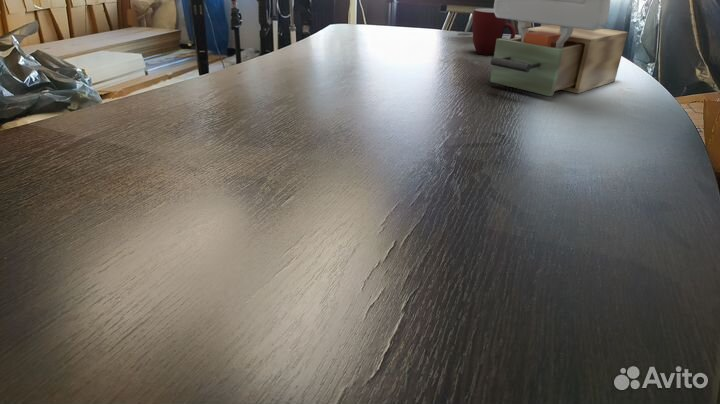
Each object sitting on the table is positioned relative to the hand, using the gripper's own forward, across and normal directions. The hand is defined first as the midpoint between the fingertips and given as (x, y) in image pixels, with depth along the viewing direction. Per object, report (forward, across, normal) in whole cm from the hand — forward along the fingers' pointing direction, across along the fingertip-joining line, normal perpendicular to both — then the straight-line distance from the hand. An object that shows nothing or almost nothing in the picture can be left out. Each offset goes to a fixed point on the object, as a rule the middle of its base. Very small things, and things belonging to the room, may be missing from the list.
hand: (540, 50), depth 90 cm
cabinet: (+7, 0, -12) cm, 14 cm away
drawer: (+6, 0, 0) cm, 6 cm away
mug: (+7, +25, -22) cm, 34 cm away
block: (+2, 0, 0) cm, 2 cm away
